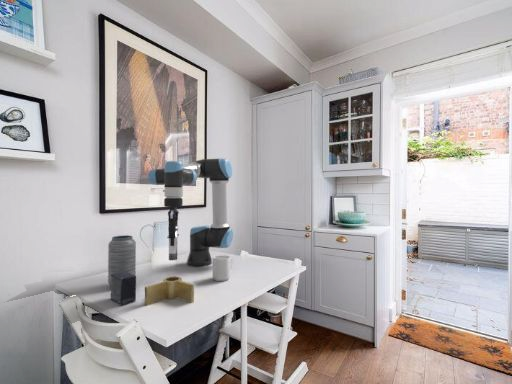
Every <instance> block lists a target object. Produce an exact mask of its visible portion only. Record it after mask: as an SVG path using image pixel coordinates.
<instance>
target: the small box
mask: <svg viewBox="0 0 512 384" xmlns="http://www.w3.org/2000/svg"><path fill="white" fill-rule="evenodd" d="M136 297H137V275H136V276H135V275H133V274H130V273H128V272H126V271H125V272H119V273H113V274H111V285H110V297H109V298H110V300H111V301H113V302H114V303H116V304H117V305H118V306H121V307H122V306H124V305H127V304H131V303H135V302H136V301H137V299H136Z"/></svg>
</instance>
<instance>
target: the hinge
mask: <svg viewBox="0 0 512 384" xmlns="http://www.w3.org/2000/svg"><path fill="white" fill-rule="evenodd" d="M166 299H167V300H172V299H173V300H174V299H179V300H182V301H185V302H188V303H191V304H192V303H194V301H195V284H194V283H190V282H187V281H183V280H182V277H181V276H176V275H175V276H168V277H164V278H163V280H162V281H161V282H160V281H159V282H157V283H154V284H150V285H147V286H144V305H145V306H150V305H153V304H155V303H159V302H160V301H163V300H166Z"/></svg>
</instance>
